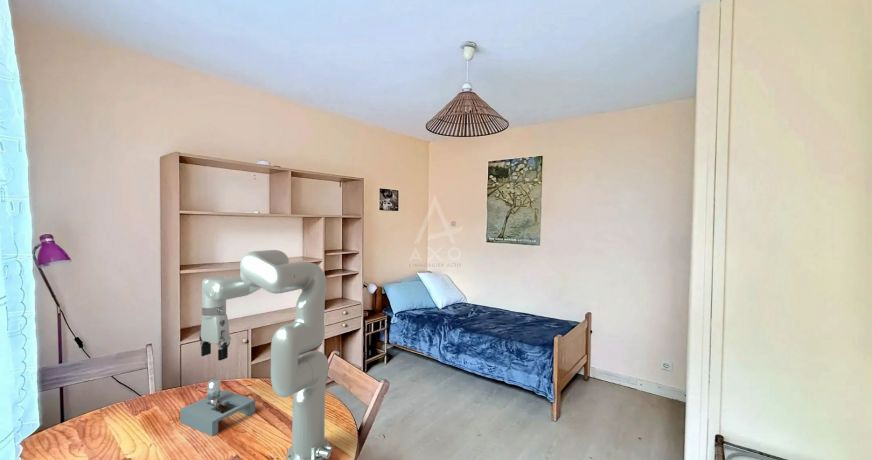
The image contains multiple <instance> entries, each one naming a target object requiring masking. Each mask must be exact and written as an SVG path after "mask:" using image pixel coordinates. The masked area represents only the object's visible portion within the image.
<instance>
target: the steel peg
mask: <svg viewBox="0 0 872 460" xmlns="http://www.w3.org/2000/svg"><path fill="white" fill-rule="evenodd" d="M206 382H207V387H206V388H207V395H206V397H207V399H208V400H210V405H212V406H215V410H214V411H217V412H219V413H222V408H221V407H220V406H218V403H217V398H219V397H220V391H221V378H213V379H210V380H208V381H206Z"/></svg>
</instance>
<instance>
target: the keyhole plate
mask: <svg viewBox="0 0 872 460" xmlns="http://www.w3.org/2000/svg"><path fill="white" fill-rule="evenodd" d="M217 404H219V405H220V406H222V407H225V408H228V409H229V410H228V411H226V412H223V413H222V412H221V413H219V412H217V411H214V410H215V406H212V405H210V400H208V399H207V396H206V397H204V398H202V399H199V400H197V401H196V402H193V403H191V404H188V405H186V406H184V407H181V408H180V411H179V413H180V414H179V417H180V419H179V420H180V421H179V423H180V424H182V425H184V426H188V427H190V428H192V429H194V430H196V431H199V432H201V433H203V434H205V435H208V436H210V437H213V436H214V437H215V435H217V434H219V422H220V421H222V420H223V419H226V418H228V417H230V416H232V415H234V414H236V413H237V412H239V413H242V414H245V415H247V416H249V417H250V416H252V415H254V414H256V400H255V399H253V398H251V397H248V396H244V395H241V394H239V393H237V392H236V393H235V392H233V391H229V390H226V389H222V390H220V397H219V398H217Z"/></svg>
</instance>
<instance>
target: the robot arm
mask: <svg viewBox="0 0 872 460" xmlns="http://www.w3.org/2000/svg"><path fill="white" fill-rule="evenodd" d="M239 269H240V270H239V271H240V273H239V275H240V276H234V277H227V278H225V277H223V276H212V277H206V278H204V279H203V280H202V281H201V322H200V323H201V325H200V330H199V331H198V332H197V333H198V337H199V338H198V339H199V341H200V342H199V343H200V344H199V345H200V353H201V354H200V356H201V357H205V356H208V355H211V354H212V344H214V345H215V344H216V345H217V347H218V349H217V361H222V360H226V359H228V354H229V353H228V350H229V349H228V348H229V345H230V344H231V341H232V337H231V335H230V326H229V319H228V318H229V317H228V314H227V300H232V299H235V298H241V297H246V296H249V295H251V294H254V293H255V292H257V291H259V290H261V289H263V290H265V291H266V292H269V293H271V294H276V295H277V294H278V295H279V294H283V293H289V292H293V291H298V290H302V291H301V293H300V295H299V296H298V298H297V301H296V304H295V310H294V311H295V317H294V318H295V319H294V321H292V322H291V323H288V324H285V325H282V326H280V327H279V328H278V329H276V331H275V332H274V334H273V335H272V338H271V344H270V383H271V387H272V390H273V392H274V394H276V395H277V396H278V397H280V398H289V397H291V396H293V397H292V420H291V421H292V422H291V423H292V424H291V425H292V426H291V427H292V428H291V429H292V431H291V435H292V436H291V438H292V439H291V440H292V441H291V443H292V445H291V446H290V447H289V448H288V449H287V452H286V460H324V459H326V460H329V459H330V458H331V454H332V451H333V449H334V447H333V446H331V445H330V443H329V442H328V438H327V437H325V435H326V434H325V432H326V431H325V430H326V429H325V426H326V425H325V424H326V423H325V422H326V421H325V420H326V412H325V411H326V386H327V380H328V375H329V368H330V367H329V364H330V363H329V359H328V358H327V356H326V354H324V352H322V351H320V350H314V349H315V348H318V347H319V346H321V344H322V343H323V341H324V339H325V303H326V302H325V301H326V292H327V278H326V275H325V272H324V270H323V269H322V268H321V267H320V266H319V265H318V264H316V263H313V262H309V261H298V262H292V263H290V261H289V257H288V255H287V254H286V253H285V252H283V251H281V250H279V249H278V250H277V249H268V250H265V249H264V250H255V251H250V252H248V253H246V254H245V255H244V256H243V257H242V258H241V260H240V263H239Z"/></svg>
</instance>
